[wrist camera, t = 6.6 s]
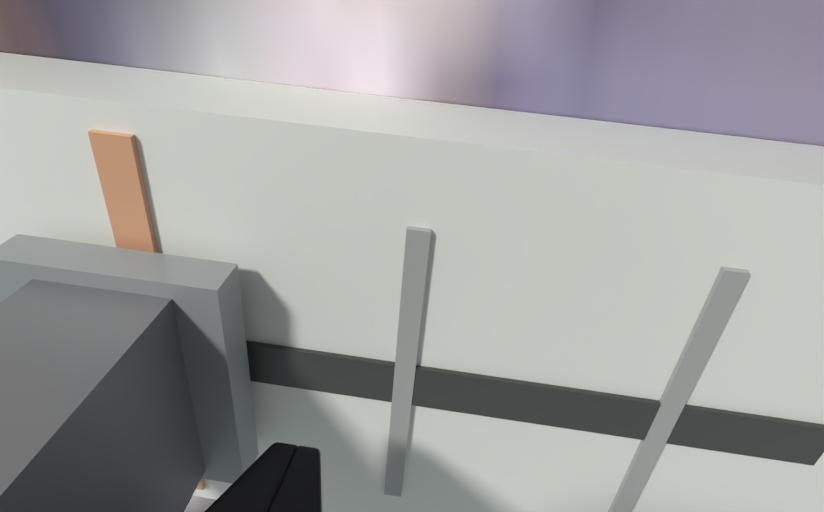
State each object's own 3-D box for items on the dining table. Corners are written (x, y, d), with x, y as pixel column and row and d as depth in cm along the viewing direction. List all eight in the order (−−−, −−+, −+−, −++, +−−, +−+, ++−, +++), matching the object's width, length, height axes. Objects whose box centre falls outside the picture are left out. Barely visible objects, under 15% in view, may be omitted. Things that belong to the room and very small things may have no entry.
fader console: (965, 162, 9) (1085, 219, 7) (731, 511, 14) (766, 595, 12) (-127, 37, 10) (-258, 59, 8) (29, 401, 15) (-32, 463, 14)
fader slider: (237, 263, 9) (-60, 653, 4) (258, 453, 12) (92, 829, 7) (17, 233, 9) (-510, 568, 4) (86, 425, 12) (-195, 770, 7)
